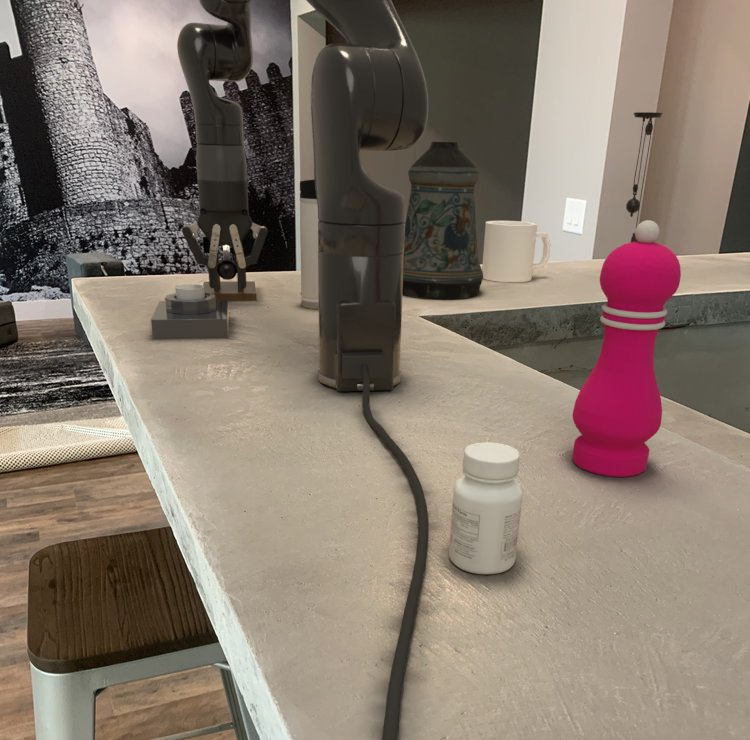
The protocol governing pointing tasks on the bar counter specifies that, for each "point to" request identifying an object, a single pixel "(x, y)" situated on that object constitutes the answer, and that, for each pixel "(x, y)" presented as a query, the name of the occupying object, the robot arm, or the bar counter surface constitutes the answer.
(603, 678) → the bar counter surface
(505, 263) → the mug
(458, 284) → the beer stein
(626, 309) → the pepper mill
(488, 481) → the pill bottle
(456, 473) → the bar counter surface
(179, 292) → the flush button
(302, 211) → the travel mug
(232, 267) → the flush lever
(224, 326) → the button base
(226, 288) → the pendulum stand
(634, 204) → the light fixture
